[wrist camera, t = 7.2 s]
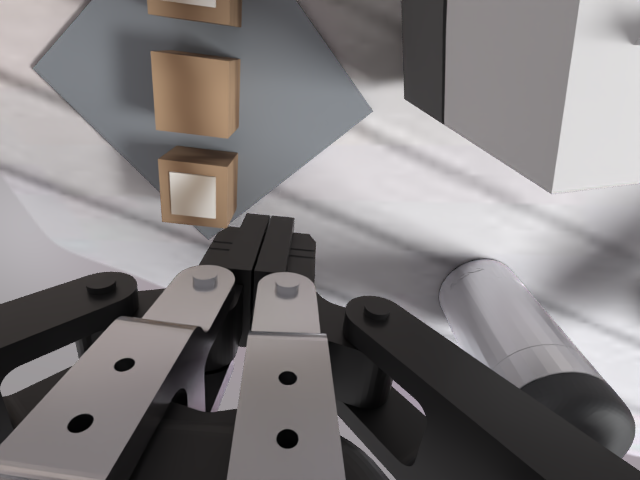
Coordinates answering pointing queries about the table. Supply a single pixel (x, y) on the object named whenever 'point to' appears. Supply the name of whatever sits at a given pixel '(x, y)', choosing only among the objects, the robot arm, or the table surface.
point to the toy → (533, 83)
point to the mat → (255, 87)
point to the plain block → (196, 93)
